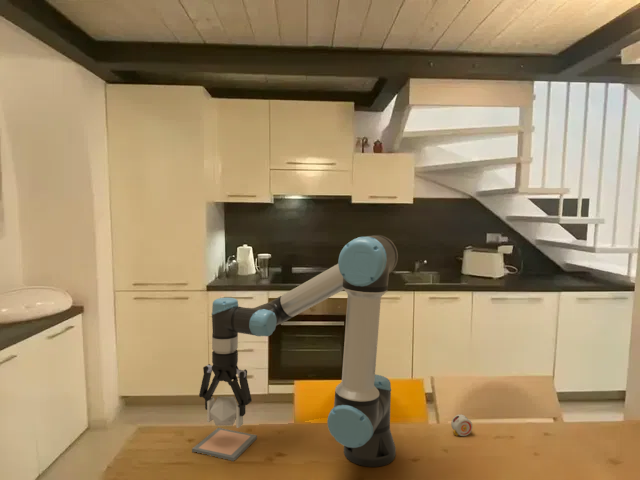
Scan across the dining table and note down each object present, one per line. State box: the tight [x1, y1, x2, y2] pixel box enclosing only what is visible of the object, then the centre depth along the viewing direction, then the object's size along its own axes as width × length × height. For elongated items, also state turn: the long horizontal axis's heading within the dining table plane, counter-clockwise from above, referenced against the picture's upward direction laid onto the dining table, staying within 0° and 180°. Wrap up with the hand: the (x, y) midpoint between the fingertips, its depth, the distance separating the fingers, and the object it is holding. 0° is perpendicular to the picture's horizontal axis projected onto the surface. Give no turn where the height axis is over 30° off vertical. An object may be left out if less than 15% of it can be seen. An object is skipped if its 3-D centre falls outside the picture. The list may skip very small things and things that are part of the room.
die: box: [210, 396, 238, 427], centre depth 139 cm, size 8×9×10 cm
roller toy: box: [450, 414, 473, 437], centre depth 147 cm, size 4×6×6 cm
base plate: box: [191, 427, 258, 462], centre depth 139 cm, size 14×14×1 cm
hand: (225, 422), depth 139 cm, fingers closed on die, 9 cm apart
